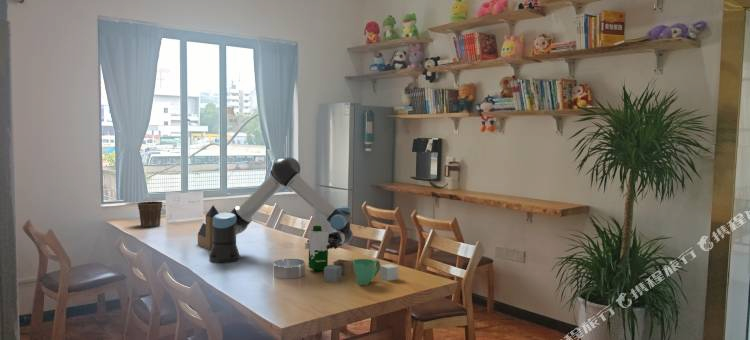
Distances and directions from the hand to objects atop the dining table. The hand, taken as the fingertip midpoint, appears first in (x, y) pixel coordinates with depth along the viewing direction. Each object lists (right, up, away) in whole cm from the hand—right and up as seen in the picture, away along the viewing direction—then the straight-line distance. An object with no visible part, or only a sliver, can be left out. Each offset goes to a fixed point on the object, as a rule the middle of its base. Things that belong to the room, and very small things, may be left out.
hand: (314, 247), depth 254 cm
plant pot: (-126, -2, +115) cm, 170 cm away
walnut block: (+13, -13, +1) cm, 18 cm away
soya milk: (+1, -11, +5) cm, 12 cm away
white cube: (+35, -14, -6) cm, 38 cm away
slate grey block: (+10, -13, -10) cm, 19 cm away
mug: (+25, -14, -13) cm, 32 cm away
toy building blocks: (-64, -8, +55) cm, 85 cm away
